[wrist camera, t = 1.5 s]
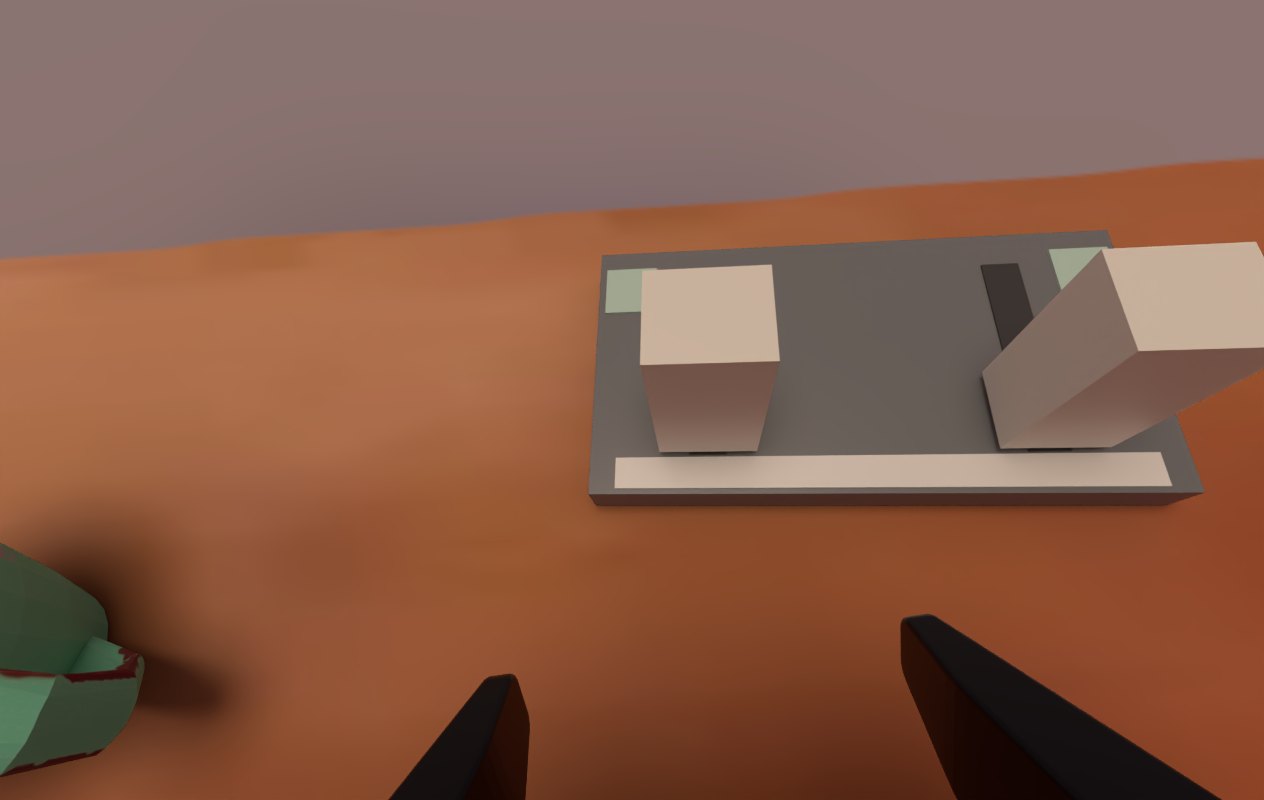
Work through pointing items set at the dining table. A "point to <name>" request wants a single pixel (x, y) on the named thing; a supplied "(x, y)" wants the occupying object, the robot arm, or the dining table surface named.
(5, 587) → the mug
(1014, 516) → the dining table surface
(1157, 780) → the robot arm
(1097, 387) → the block
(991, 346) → the switch block
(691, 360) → the switch tab
